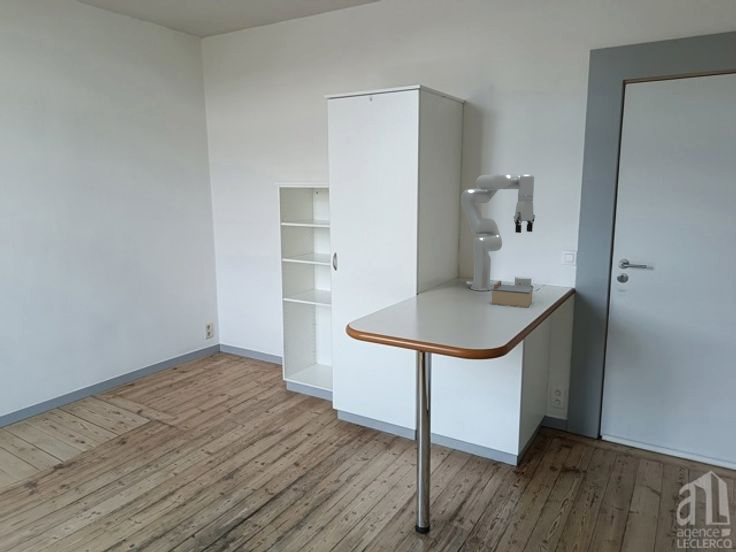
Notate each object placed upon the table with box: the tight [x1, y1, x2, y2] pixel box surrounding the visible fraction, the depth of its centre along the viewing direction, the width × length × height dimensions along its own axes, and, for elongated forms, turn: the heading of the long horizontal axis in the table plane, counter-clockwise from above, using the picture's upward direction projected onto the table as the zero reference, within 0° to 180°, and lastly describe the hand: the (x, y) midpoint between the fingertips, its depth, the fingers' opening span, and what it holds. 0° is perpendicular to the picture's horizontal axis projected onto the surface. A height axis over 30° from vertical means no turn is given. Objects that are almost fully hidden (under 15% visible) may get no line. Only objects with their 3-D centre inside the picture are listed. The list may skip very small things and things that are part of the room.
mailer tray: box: [491, 288, 534, 308], centre depth 261 cm, size 18×14×7 cm
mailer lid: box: [490, 280, 534, 293], centre depth 260 cm, size 19×15×3 cm
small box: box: [514, 276, 532, 287], centre depth 277 cm, size 8×6×10 cm
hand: (523, 232), depth 263 cm, fingers open, 9 cm apart
